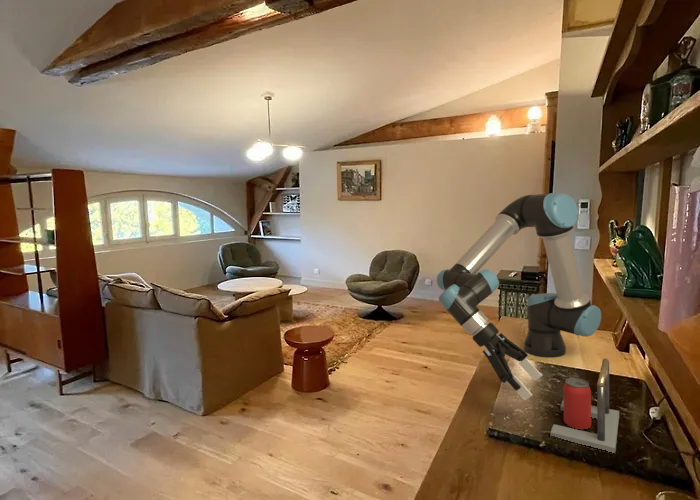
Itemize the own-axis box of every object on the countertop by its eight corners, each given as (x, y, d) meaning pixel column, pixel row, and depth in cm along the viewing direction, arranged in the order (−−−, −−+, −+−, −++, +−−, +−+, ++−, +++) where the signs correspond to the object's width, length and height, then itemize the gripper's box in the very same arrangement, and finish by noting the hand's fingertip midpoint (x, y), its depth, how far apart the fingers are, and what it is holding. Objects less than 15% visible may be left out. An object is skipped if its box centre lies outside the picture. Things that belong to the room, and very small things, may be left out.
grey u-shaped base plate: (563, 404, 121) (562, 399, 121) (619, 416, 113) (619, 410, 113) (550, 437, 105) (550, 432, 105) (615, 453, 97) (615, 448, 97)
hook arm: (602, 415, 114) (602, 357, 112) (609, 416, 113) (609, 358, 111) (597, 445, 101) (596, 380, 99) (604, 447, 100) (604, 382, 98)
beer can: (593, 432, 106) (593, 388, 105) (565, 429, 108) (564, 386, 107) (588, 419, 112) (588, 378, 111) (562, 417, 115) (561, 376, 113)
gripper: (484, 324, 135) (532, 377, 128) (457, 350, 115) (513, 413, 108) (500, 311, 131) (551, 364, 125) (475, 334, 111) (534, 400, 104)
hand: (533, 387), depth 116 cm, fingers open, 13 cm apart
